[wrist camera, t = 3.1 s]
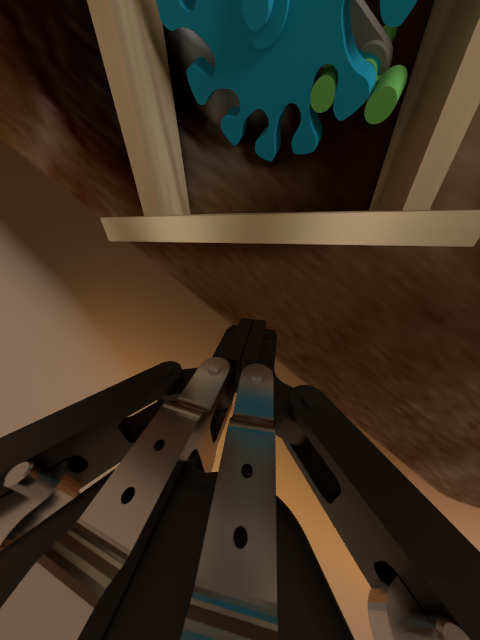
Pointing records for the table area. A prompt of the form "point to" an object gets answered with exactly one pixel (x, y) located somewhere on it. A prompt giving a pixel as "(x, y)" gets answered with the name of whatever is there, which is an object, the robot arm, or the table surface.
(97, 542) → the robot arm
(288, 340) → the table surface
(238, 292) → the table surface
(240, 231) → the tan open box
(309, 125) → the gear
